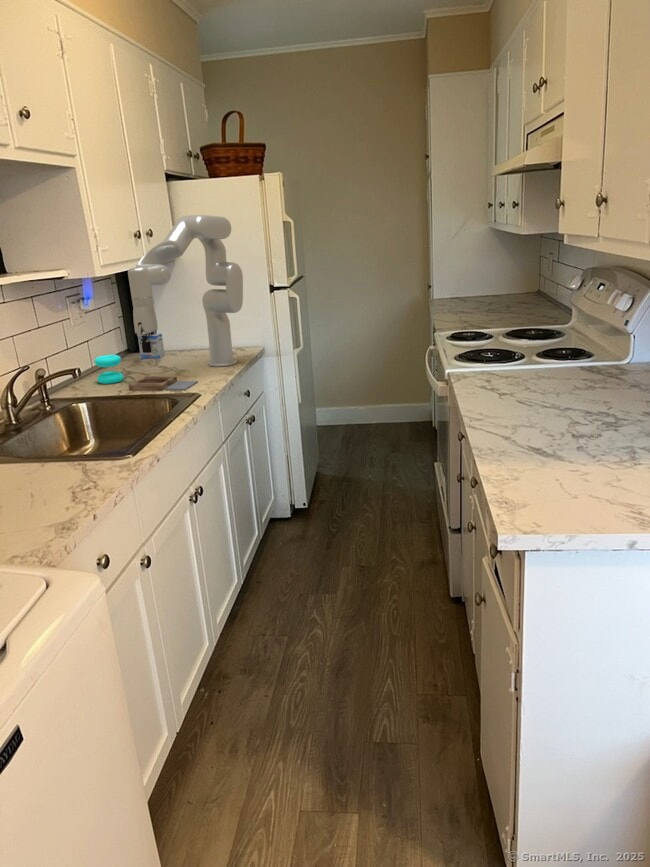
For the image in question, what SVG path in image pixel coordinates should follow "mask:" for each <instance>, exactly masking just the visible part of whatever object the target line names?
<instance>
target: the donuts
mask: <svg viewBox="0 0 650 867" xmlns="http://www.w3.org/2000/svg"><path fill="white" fill-rule="evenodd" d="M121 361H122V357H121V356H120V355H118V354H106V355H105V354H104V355H100V356H97V357H95V359H94V361H93V362H94V363H95V365H96V366H97V367H99V368H112V367H115V366H118V365H119V364H120V363H121ZM124 377H125V375H124V374H123V373H122V372H119V371H115V370H114V371H113V370H112V371H109V370H108V371H104V372H101V373H99V375H97V380H96V381H97V382H98V383H99V384H102V385H103V384H104V385H111V384H112V385H113V384H117V383H120V382H122V381H123V380H124Z"/></svg>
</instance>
